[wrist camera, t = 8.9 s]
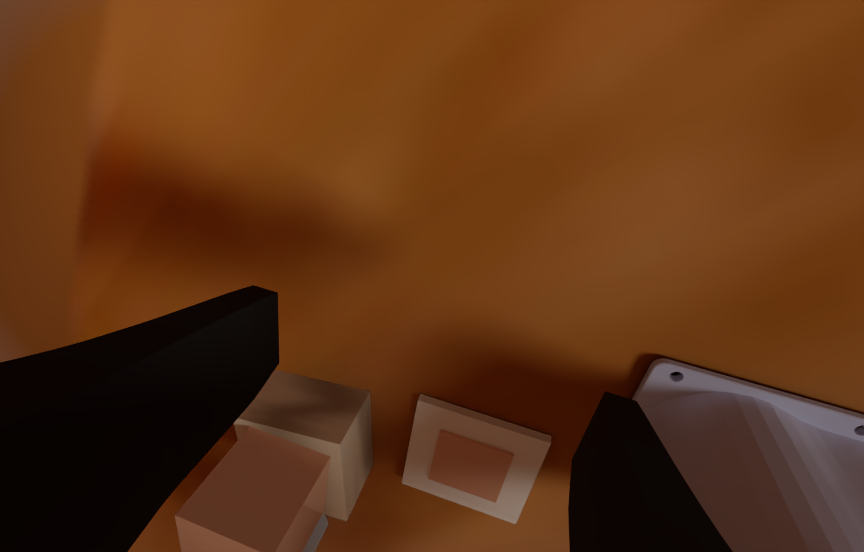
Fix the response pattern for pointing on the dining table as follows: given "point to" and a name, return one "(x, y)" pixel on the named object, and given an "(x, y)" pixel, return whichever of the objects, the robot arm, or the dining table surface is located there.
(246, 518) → the terracotta block
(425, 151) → the dining table surface
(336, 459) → the birch base block
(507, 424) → the tile
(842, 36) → the dining table surface
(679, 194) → the dining table surface
